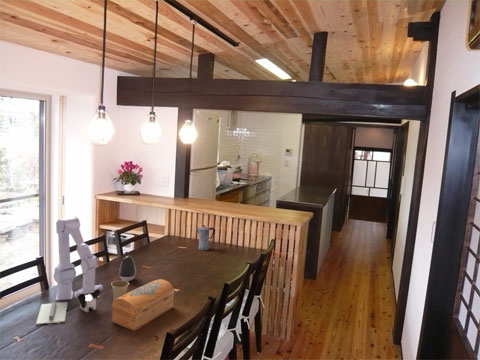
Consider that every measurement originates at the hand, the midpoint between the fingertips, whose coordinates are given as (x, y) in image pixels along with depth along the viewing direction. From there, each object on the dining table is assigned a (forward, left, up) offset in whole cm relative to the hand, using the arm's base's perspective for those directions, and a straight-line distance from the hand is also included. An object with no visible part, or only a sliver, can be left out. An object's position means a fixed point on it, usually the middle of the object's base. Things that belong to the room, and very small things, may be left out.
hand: (88, 306), depth 189 cm
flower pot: (-9, +16, -2) cm, 18 cm away
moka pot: (-89, +87, -2) cm, 124 cm away
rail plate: (+2, -16, -2) cm, 16 cm away
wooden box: (+11, +26, -2) cm, 29 cm away
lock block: (0, 0, -2) cm, 2 cm away
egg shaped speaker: (-35, +22, -2) cm, 41 cm away
